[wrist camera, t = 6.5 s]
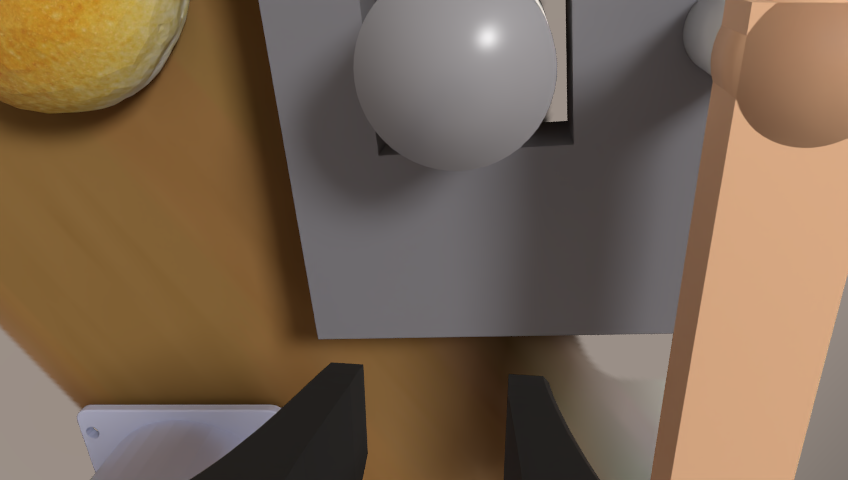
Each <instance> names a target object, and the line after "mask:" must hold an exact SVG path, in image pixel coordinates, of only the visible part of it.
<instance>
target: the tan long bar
mask: <svg viewBox="0 0 848 480" xmlns="http://www.w3.org/2000/svg"><path fill="white" fill-rule="evenodd" d="M710 64H711V76H712V81H713V83H712V89H711V96H710V102H709V109H708V115H707V121H706V128H705V134H704V141H703V147H702V153H701V160H700V166H699V173H698V179H697V185H696V192H695V198H694V205H693V211H692V217H691V224H690V230H689V237H688V243H687V249H686V256H685V262H684V269H683V275H682V282H681V288H680V294H679V301H678V307H677V314H676V320H675V326H674V333H673V339H672V346H671V352H670V358H669V365H668V372H667V378H666V384H665V390H664V397H663V403H662V410H661V416H660V422H659V429H658V435H657V442H656V448H655V454H654V461H653V467H652V474H651V480H794V477H795V474H796V470H797V466H798V462H799V458H800V455H801V451H802V447H803V443H804V439H805V435H806V431H807V427H808V424H809V420H810V416H811V412H812V408H813V404H814V401H815V397H816V393H817V389H818V385H819V381H820V378H821V374H822V370H823V366H824V362H825V359H826V355H827V351H828V347H829V343H830V339H831V336H832V332H833V328H834V324H835V320H836V316H837V312H838V309H839V304H840V301H841V297H842V293H843V290H844V286H845V282H846V278H847V274H848V0H725V6H724V12H723V19H722V25H721V27H720V29H719V31H718V33H717V35H716V38H715V41H714V44H713V48H712V53H711V63H710Z"/></svg>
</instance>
